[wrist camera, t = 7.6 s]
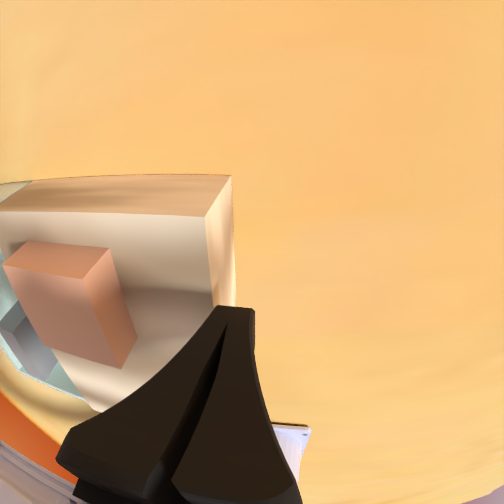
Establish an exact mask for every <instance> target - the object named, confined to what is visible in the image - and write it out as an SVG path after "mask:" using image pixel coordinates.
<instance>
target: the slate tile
mask: <svg viewBox="0 0 504 504" xmlns="http://www.w3.org/2000/svg"><path fill="white" fill-rule="evenodd" d="M0 333H1V335H2V336H3V338H4V340H5V341H6V343H7V344H8V346H9V347H10V349H11V350H12V352H13V353H14V355H15V356H16V357H17V359H18V360H19V362H20V363H21V364H22V366H23V367H24V369H25V370H26V371H27V373H28V374H30V375H33V376H35V377H37V378H39V379H41V380H44V381H46V379H47V378H48V376H49V374H50V373H51V371H52V370H53V368H54V366H55V365H56V363H57V362H58V360H57V358H56V357H55V355H54V353H53V352H52V350H51V348H50V347H48V346H45V345H43V343H42V342H41V340H40V338H39V337H38V335H37V333H36V332H35V330H34V328H33V326H32V325H31V323H30V321H29V319H28V317H27V315H26V314H25V312H24V310H23V308H22V306H21V304H20V302H19V300H18V301H17V302H16V303H15V304H14V305H13V306H12V308H11V309H10V310H9V311H8V312H7V313H6V315H5V316H4V317H3V318H2V319H1V321H0Z"/></svg>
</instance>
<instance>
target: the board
mask: <svg viewBox="0 0 504 504" xmlns="http://www.w3.org/2000/svg"><path fill="white" fill-rule="evenodd" d="M28 240H29V241H39V242H50V243H60V244H71V245H81V246H92V247H103V248H109V249H110V252H111V256H112V259H113V263H114V266H115V270H116V273H117V277H118V280H119V283H120V286H121V290H122V293H123V296H124V299H125V302H126V305H127V308H128V311H129V314H130V317H131V320H132V322H133V325H134V328H135V331H136V334H137V336H138V338H137V340H136V342H135V344H134V346H133V348H132V350H131V352H130V354H129V355H128V357H127V359H126V361H125V363H124V365H123V367H122V369H118V368H114V367H111V366H107V365H104V364H100V363H97V362H93V361H90V360H87V359H84V358H80V357H77V356H74V355H71V354H68V353H65V352H62V351H59V350H56V349H54V348H51V347H50V348H51V350H52V352H53V353H54V355H55V357H56V358H57V360H58V361H59V363H60V364H61V366H62V367H63V369H64V370H65V372H66V373H67V375H68V376H69V378H70V379H71V381H72V382H73V384H74V385H75V386H76V388H77V389H78V391H79V392H80V393H81V395H82V396H83V397H84V399H85V400H86V401H87V403H88V404H89V405H90V407H91V408H92V409H93V410H95V411H98V412H101V413H102V412H104V411H105V410H107V409H109V408H110V407H112V406H113V405H115V404H117V403H118V402H120V401H121V400H123V399H124V398H126V397H127V396H129V395H130V394H132V393H133V392H134V391H136V390H137V389H138V388H139V387H141V386H142V385H143V384H145V383H146V382H147V381H148V380H149V379H151V378H152V377H153V376H154V375H155V374H156V373H158V372H159V371H160V370H161V369H162V368H163V367H164V366H165V365H166V364H167V363H168V362H169V361H170V360H171V359H172V358H173V357H174V356H175V355H176V354H177V353H178V352H179V351H180V350H181V349H182V348H183V346H184V345H185V344H186V343H187V342H188V341H189V340H190V338H191V337H192V336H193V335H194V334H195V333H196V331H197V330H198V329H199V328H200V326H201V325H202V324H203V323H204V321H205V320H206V319H207V317H208V316H209V315H210V313H211V312H212V310H213V309H214V308H215V307H216V306H217V305H224V306H233V307H237V300H236V279H235V257H234V234H233V208H232V180H231V175H186V174H161V175H114V176H91V177H73V178H59V179H46V180H34V181H33V182H31V183H29V184H28V185H26V186H25V187H23V188H21V189H20V190H18V191H17V192H15V193H14V194H12V195H11V196H9V197H8V198H6V199H5V200H3V201H2V202H1V203H0V248H1V251H2V253H3V256H4V258H5V260H7V259H8V258H9V257H10V256H12V255H13V254H14V253H15V252H16V251H17V250H18V249H19V248H20V247H21V246H23V245H24V244H25V243H26V242H27V241H28Z"/></svg>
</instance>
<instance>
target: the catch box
mask: <svg viewBox="0 0 504 504" xmlns="http://www.w3.org/2000/svg"><path fill="white" fill-rule="evenodd" d="M29 183H31V181H24V182H14V183H5V184H0V203H1V202H2V201H3V200H5V199H6V198H8V197H9V196H11V195H12V194H14V193H15V192H17V191H18V190H20V189H21V188H23V187H25V186H26V185H28V184H29ZM5 261H6V260H5V258H4V256H3V253H2V251H1V248H0V321H1V319H2V318H3V317H4V316H5V315H6V313H7V312H8V311H9V310H10V309H11V308H12V306H13V305H14V304H15V303H16V302H17V301H18V298H17V296H16V294H15V292H14V290H13V288H12V286H11V284H10V282H9V280H8V277H7V275H6V273H5V271H4V268H3V266H2V264H3V263H4V262H5ZM0 347H1V348H2V350H3V351H4V353H5V354H6V356H7V357H8V358H9V360H10V361H11V363H12V364H13V365H14V367H15V368H16V369H17V371H18V372H19V373H21V374H23V375H25V376H27V377H29V378H32V379H34V380H36V381H38V382H40V383H42V384H44V385H47V386H49V387H51V388H53V389H56V390H58V391H60V392H63V393H65V394H68V395H70V396H73V397H75V398H78V399H80V400H83V401H86V400H85V399H84V397H83V396H82V395H81V393H80V392H79V391H78V389H77V388H76V386H75V385H74V384H73V382H72V381H71V379H70V378H69V376H68V375H67V373H66V372H65V370H64V369H63V367H62V366H61V364H60V363H59V361H58V362H57V363H56V365H55V366H54V368H53V370H52V371H51V373H50V374H49V376H48V378H47V379H46V381H44V380H41V379H39V378H37V377H35V376H33V375H30V374H28V373H27V371H26V370H25V369H24V367H23V366H22V364H21V363H20V362H19V360H18V359H17V357H16V356H15V355H14V353H13V352H12V350H11V349H10V347H9V346H8V344H7V343H6V341H5V340H4V338H3V336H2V335H1V333H0ZM86 402H87V401H86Z"/></svg>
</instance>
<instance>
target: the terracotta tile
mask: <svg viewBox="0 0 504 504" xmlns="http://www.w3.org/2000/svg"><path fill="white" fill-rule="evenodd" d="M2 266H3V268H4V271H5V273H6V275H7V277H8V280H9V282H10V284H11V286H12V288H13V290H14V292H15V294H16V296H17V298H18V300H19V302H20V304H21V306H22V308H23V310H24V312H25V314H26V315H27V317H28V319H29V321H30V323H31V325H32V326H33V328H34V330H35V332H36V333H37V335H38V337H39V338H40V340H41V342H42V343H43V345H45V346H48V347H51V348H54V349H56V350H59V351H62V352H65V353H68V354H71V355H74V356H77V357H80V358H84V359H87V360H90V361H93V362H97V363H100V364H104V365H107V366H111V367H114V368H118V369H122V367H123V365H124V363H125V361H126V359H127V357H128V355H129V354H130V352H131V350H132V348H133V346H134V344H135V342H136V340H137V338H138V336H137V334H136V331H135V328H134V325H133V322H132V320H131V317H130V314H129V311H128V308H127V305H126V302H125V299H124V296H123V293H122V290H121V286H120V283H119V280H118V277H117V273H116V270H115V266H114V263H113V259H112V256H111V252H110V249H109V248H103V247H92V246H81V245H71V244H60V243H50V242H39V241H29V240H28V241H27V242H26V243H25V244H24V245H23V246H21V247H20V248H19V249H18V250H17V251H16V252H15V253H14V254H13V255H12V256H10V257H9V258H8V259H7V260H6V261H5V262H4V263H3V264H2Z"/></svg>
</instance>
